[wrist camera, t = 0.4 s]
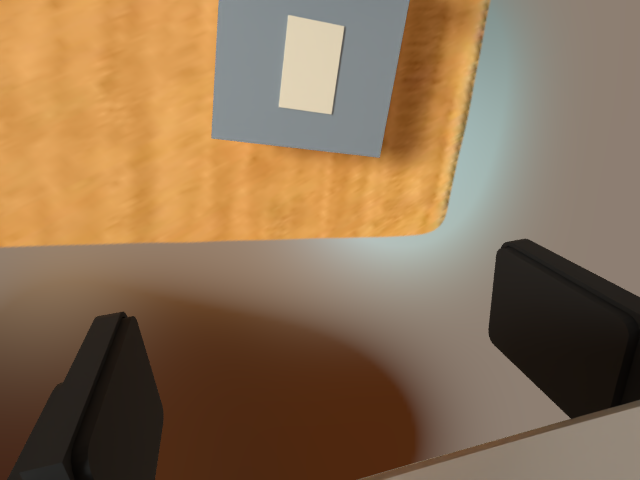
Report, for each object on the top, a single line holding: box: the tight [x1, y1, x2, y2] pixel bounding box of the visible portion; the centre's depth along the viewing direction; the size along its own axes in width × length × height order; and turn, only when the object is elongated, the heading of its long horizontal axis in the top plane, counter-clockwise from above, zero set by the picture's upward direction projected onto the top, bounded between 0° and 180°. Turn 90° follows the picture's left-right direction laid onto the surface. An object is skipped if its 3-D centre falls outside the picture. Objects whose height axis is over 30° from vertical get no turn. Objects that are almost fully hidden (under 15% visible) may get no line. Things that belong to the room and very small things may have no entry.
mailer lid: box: [212, 0, 410, 158], centre depth 27 cm, size 15×13×5 cm
